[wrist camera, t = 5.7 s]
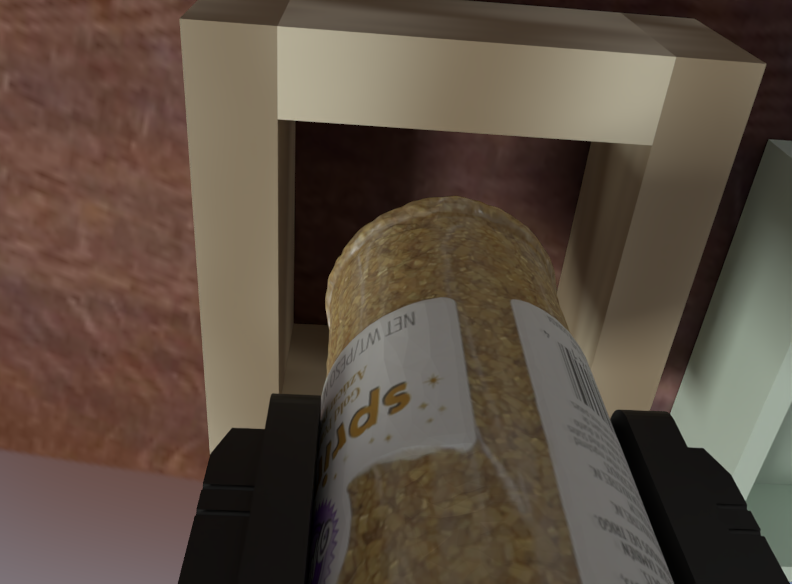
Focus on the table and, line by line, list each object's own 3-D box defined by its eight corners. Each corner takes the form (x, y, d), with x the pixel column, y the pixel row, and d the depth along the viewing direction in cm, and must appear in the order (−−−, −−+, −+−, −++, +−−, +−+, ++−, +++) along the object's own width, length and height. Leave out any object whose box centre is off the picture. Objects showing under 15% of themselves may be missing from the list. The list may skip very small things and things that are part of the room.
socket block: (234, 368, 21) (210, 460, 18) (218, -20, 15) (179, 18, 12) (592, 386, 21) (627, 477, 18) (694, 18, 16) (766, 63, 13)
